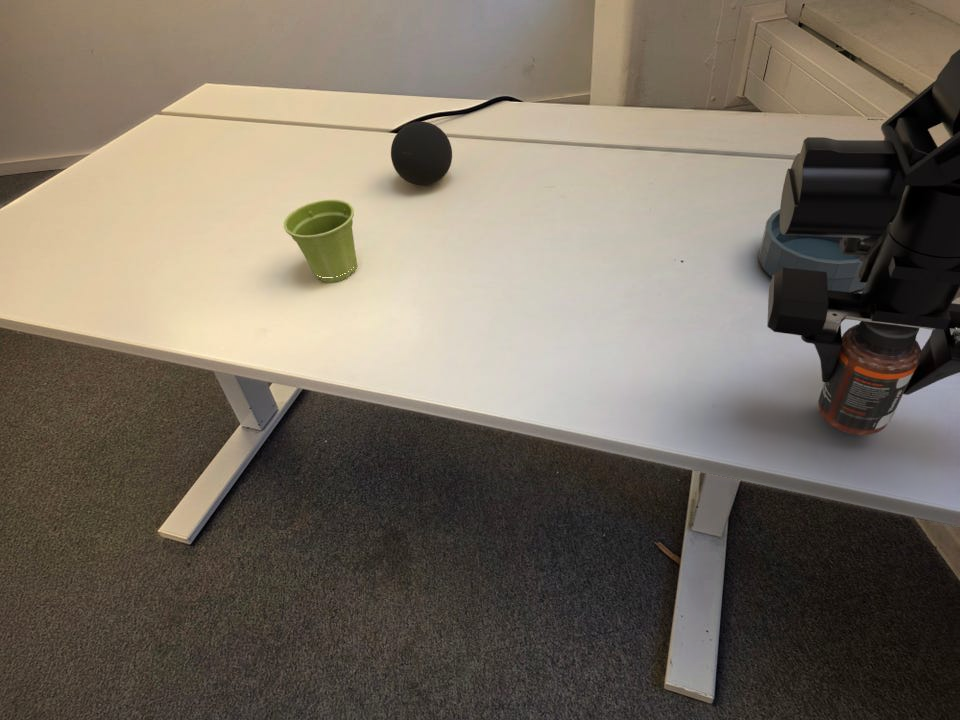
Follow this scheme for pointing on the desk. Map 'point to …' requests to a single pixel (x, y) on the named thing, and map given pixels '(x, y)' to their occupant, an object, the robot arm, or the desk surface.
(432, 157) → the speaker
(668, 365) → the desk surface
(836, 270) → the bowl
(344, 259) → the plant pot
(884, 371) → the supplement bottle
